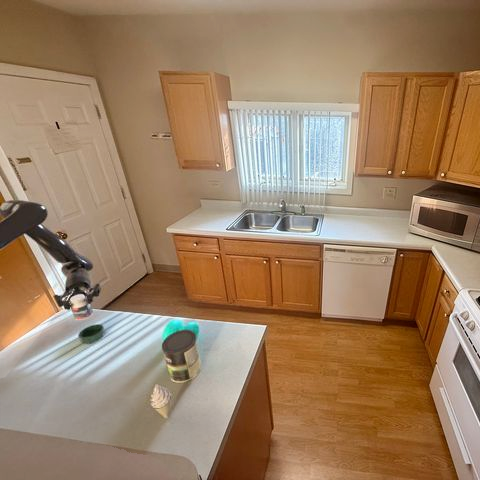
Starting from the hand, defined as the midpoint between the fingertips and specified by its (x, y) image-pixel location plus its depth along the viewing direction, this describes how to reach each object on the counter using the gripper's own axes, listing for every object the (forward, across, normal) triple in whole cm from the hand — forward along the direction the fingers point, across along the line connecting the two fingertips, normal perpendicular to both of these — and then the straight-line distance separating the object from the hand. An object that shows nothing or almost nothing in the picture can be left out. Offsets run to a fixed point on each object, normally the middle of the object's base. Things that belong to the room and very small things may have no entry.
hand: (78, 304), depth 94 cm
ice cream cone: (+51, +15, +17) cm, 56 cm away
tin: (-2, 0, +18) cm, 18 cm away
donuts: (+23, +27, +18) cm, 40 cm away
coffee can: (+37, +24, +18) cm, 47 cm away
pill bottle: (-3, 0, +7) cm, 8 cm away
